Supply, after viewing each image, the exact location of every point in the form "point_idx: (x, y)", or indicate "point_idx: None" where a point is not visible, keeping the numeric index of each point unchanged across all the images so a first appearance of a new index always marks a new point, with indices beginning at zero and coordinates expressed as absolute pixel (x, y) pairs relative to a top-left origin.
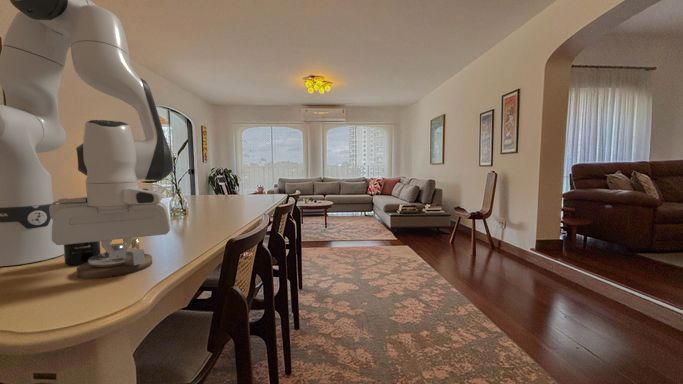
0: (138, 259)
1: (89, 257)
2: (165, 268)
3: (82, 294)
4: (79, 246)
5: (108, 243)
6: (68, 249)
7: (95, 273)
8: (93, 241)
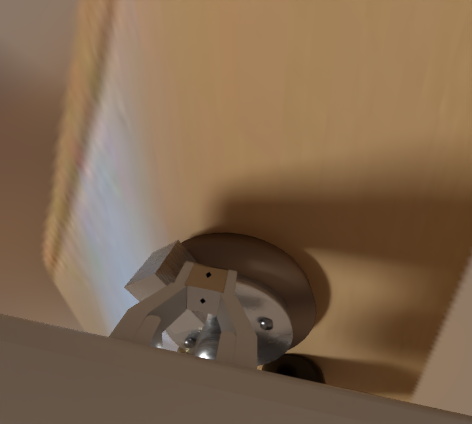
0: (158, 255)
1: (282, 372)
2: (116, 220)
3: (320, 122)
4: None
5: (224, 341)
6: None
7: (278, 257)
8: (298, 378)
